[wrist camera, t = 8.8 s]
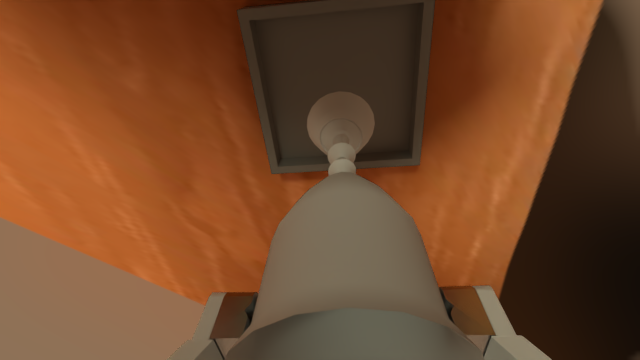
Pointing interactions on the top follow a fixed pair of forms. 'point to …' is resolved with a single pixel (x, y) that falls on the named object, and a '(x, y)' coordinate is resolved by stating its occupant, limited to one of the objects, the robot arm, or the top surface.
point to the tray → (339, 74)
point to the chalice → (349, 266)
